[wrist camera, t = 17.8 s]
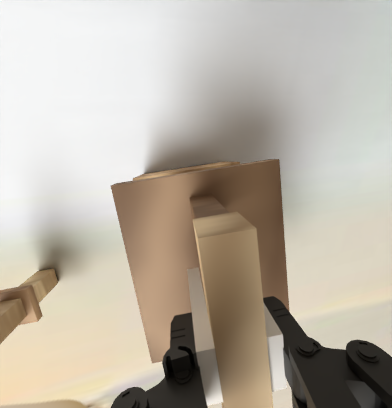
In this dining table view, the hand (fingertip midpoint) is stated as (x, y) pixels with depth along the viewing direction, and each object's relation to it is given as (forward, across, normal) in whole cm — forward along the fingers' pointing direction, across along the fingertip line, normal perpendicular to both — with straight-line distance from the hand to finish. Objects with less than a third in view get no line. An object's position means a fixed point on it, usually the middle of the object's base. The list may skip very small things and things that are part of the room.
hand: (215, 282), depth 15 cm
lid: (+3, 0, -2) cm, 4 cm away
